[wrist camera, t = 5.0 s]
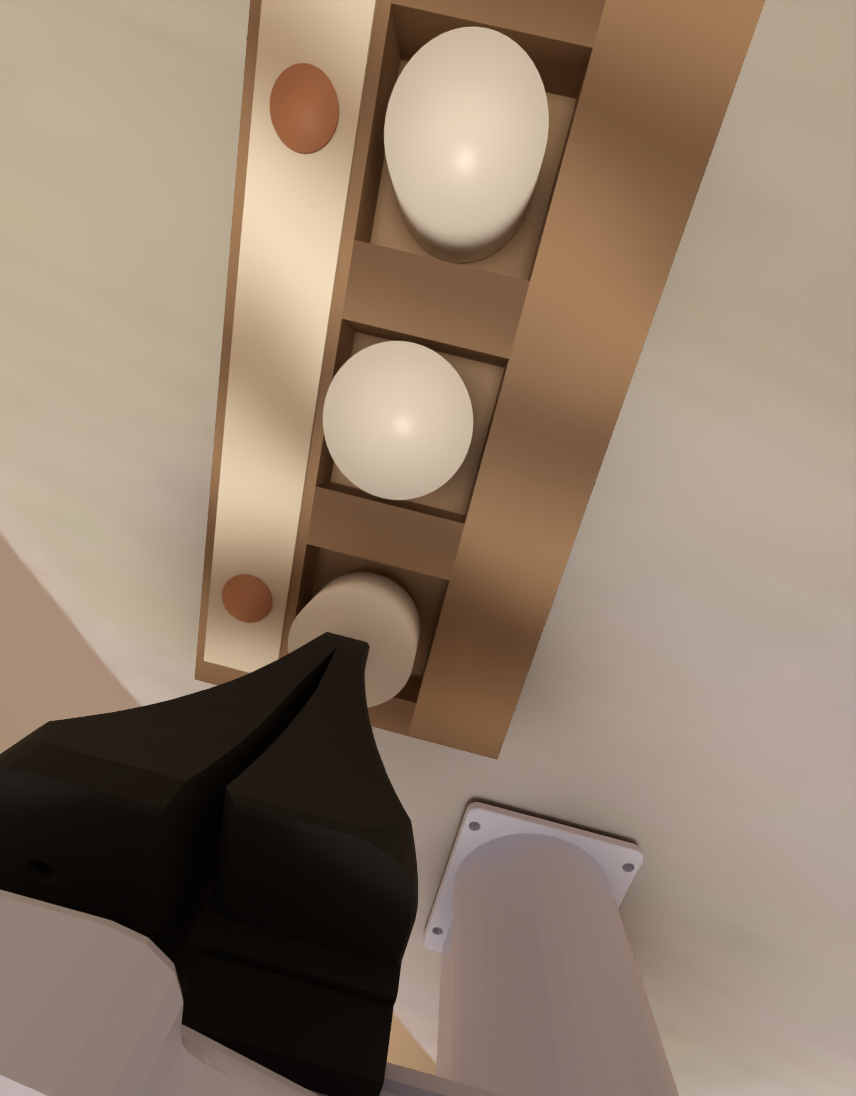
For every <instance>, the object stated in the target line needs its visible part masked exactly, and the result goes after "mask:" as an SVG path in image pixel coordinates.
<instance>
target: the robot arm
mask: <svg viewBox="0 0 856 1096" xmlns="http://www.w3.org/2000/svg"><path fill="white" fill-rule="evenodd" d="M369 649H370V646H369V644H368V643H367V642H365V641H361V640H357V639H353V638H349V637H345V636H342V635H338V634H334V633H330V632H326V633H324V634H322V635H320V636H318V637H317V638H315V639H313V640H311V641H310V642H308V643H306V644H305V645H303V646H301V647H299V648H298V649H296V650H294V651H292V652H291V653H289V654H287V655H285V656H283V657H282V658H280V659H278V660H276V661H274V662H272V663H270V664H268V665H266V666H264V667H261V668H259V669H257V670H255V671H253V672H251V673H249V674H246V675H244V676H242V677H239V678H237V679H234V680H232V681H229V682H226V683H223V684H221V685H218V686H215V687H212V688H209V689H206V690H203V691H199V692H196V693H193V694H189V695H186V696H182V697H179V698H176V699H172V700H168V701H164V702H160V703H156V704H151V705H147V706H142V707H137V708H133V709H128V710H123V711H117V712H112V713H106V714H99V715H92V716H85V717H78V718H71V719H64V720H56V721H49V722H47V723H46V724H44V725H43V726H41V727H39V728H38V729H37V730H35V731H34V732H32V733H31V734H29V735H28V736H26V737H25V738H23V739H22V740H20V741H19V742H18V743H16V744H14V745H13V746H12V747H10V748H9V749H7V750H6V751H4V752H3V753H1V754H0V1096H679V1094H678V1091H677V1088H676V1085H675V1082H674V1079H673V1076H672V1073H671V1070H670V1067H669V1064H668V1060H667V1057H666V1054H665V1051H664V1048H663V1045H662V1042H661V1039H660V1036H659V1033H658V1030H657V1027H656V1024H655V1021H654V1017H653V1014H652V1011H651V1008H650V1005H649V1002H648V999H647V996H646V993H645V990H644V987H643V984H642V981H641V977H640V974H639V971H638V968H637V965H636V962H635V959H634V956H633V953H632V950H631V947H630V944H629V941H628V937H627V934H626V931H625V928H624V925H623V922H622V919H621V916H620V913H619V910H618V908H619V906H620V904H621V902H622V901H623V899H624V897H625V895H626V893H627V891H628V889H629V887H630V885H631V883H632V882H633V880H634V878H635V876H636V874H637V872H638V870H639V868H640V866H641V865H642V863H643V860H644V857H643V854H642V852H641V849H640V848H639V847H638V845H635V844H633V843H630V842H626V841H622V840H618V839H615V838H611V837H607V836H603V835H600V834H596V833H592V832H589V831H585V830H581V829H577V828H574V827H570V826H566V825H562V824H559V823H555V822H551V821H548V820H544V819H540V818H536V817H533V816H529V815H525V814H521V813H518V812H514V811H510V810H507V809H503V808H499V807H495V806H492V805H488V804H484V803H480V802H474V803H471V804H469V805H468V807H467V808H466V811H465V814H464V817H463V820H462V823H461V826H460V829H459V832H458V835H457V838H456V841H455V844H454V846H453V849H452V852H451V855H450V858H449V861H448V864H447V867H446V870H445V873H444V876H443V879H442V882H441V885H440V888H439V890H438V893H437V896H436V899H435V902H434V905H433V908H432V911H431V914H430V917H429V920H428V923H427V926H426V929H425V932H424V938H423V944H424V946H425V947H426V948H427V949H429V950H432V951H435V952H439V953H442V958H441V980H440V1001H439V1023H438V1045H437V1067H436V1076H434V1075H431V1074H427V1073H424V1072H420V1071H417V1070H413V1069H410V1068H406V1067H402V1066H399V1065H395V1064H392V1063H388V1062H387V1054H388V1046H389V1038H390V1030H391V1022H392V1014H393V1006H394V1004H395V1001H396V998H397V993H398V986H399V978H400V969H401V962H402V958H403V955H404V952H405V949H406V946H407V943H408V940H409V937H410V934H411V931H412V928H413V925H414V922H415V918H416V913H417V906H418V873H417V861H416V852H415V844H414V837H413V831H412V824H411V820H410V818H409V816H408V815H407V813H406V811H405V809H404V808H403V806H402V804H401V802H400V800H399V798H398V796H397V795H396V793H395V791H394V788H393V786H392V784H391V782H390V780H389V778H388V775H387V773H386V770H385V768H384V765H383V762H382V760H381V757H380V754H379V752H378V749H377V746H376V743H375V739H374V735H373V732H372V728H371V723H370V719H369V714H368V708H367V701H366V691H365V667H366V662H367V658H368V653H369ZM473 822H477V823H473Z"/></svg>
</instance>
